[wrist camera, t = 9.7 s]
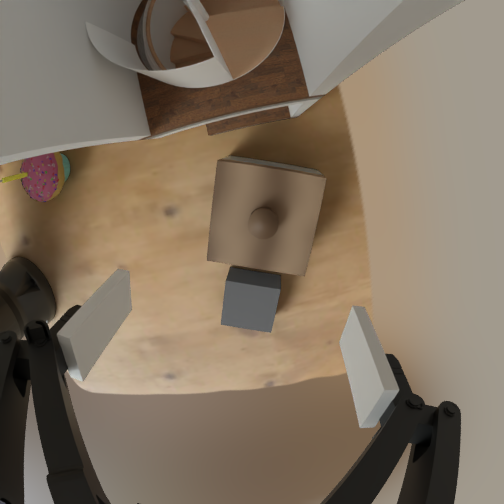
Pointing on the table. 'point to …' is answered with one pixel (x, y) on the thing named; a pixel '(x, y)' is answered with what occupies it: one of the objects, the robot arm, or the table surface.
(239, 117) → the white stacked pedestal
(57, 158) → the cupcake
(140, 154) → the table surface
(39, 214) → the table surface
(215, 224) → the lid
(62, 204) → the table surface
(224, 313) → the block
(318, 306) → the table surface
